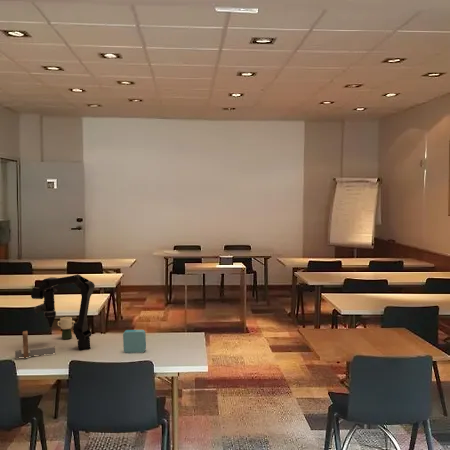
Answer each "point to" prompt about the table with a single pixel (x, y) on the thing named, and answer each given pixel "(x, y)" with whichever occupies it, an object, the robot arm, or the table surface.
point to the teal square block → (134, 341)
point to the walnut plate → (25, 344)
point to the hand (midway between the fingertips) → (50, 325)
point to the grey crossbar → (36, 351)
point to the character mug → (66, 327)
